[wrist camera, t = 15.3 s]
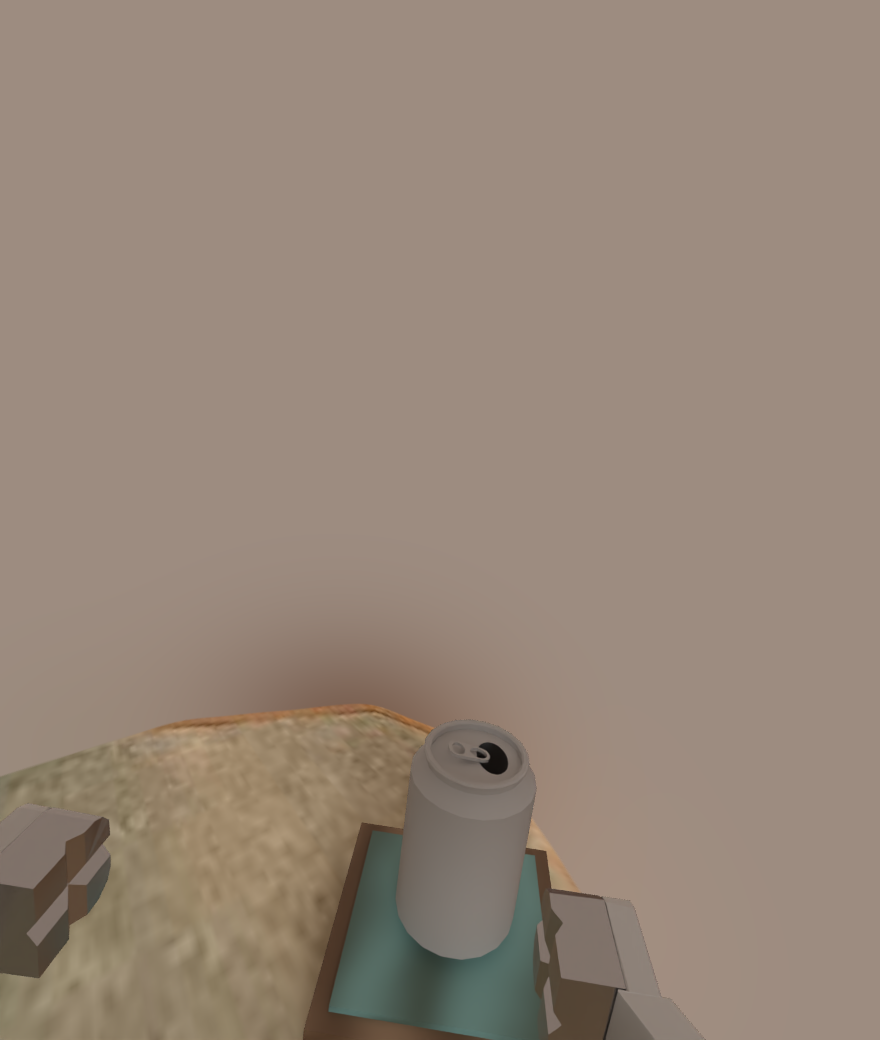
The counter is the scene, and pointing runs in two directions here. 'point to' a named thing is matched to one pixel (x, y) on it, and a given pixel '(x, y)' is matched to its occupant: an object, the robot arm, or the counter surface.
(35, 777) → the counter surface
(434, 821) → the can
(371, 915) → the plinth
